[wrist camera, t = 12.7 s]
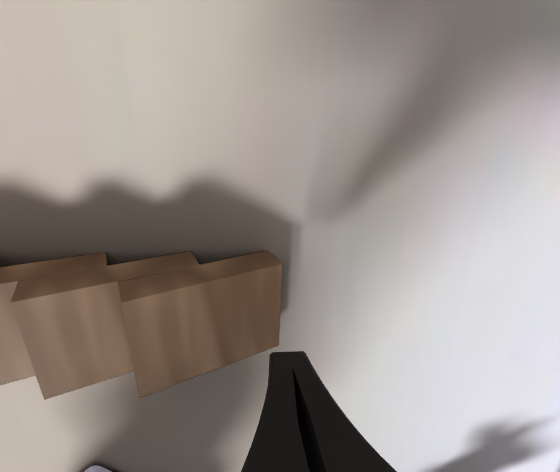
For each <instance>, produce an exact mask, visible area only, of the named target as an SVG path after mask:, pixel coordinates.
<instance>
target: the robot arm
mask: <svg viewBox="0 0 560 472" xmlns="http://www.w3.org/2000/svg"><path fill="white" fill-rule="evenodd" d="M84 472H112V471H110V470H108V469H105V468H103V467H101V466H98V465H94V466H91V467H89V468H88V469H87V470H86V471H84ZM241 472H397V471H396V470H395V469H393V468H392V467H391V466H390V465H389V464H388V463H387V462H386V461H385V460H384V459H383V458H382V457H381V456H380V455H379V454H378V453H377V452H376V451H375V449H374V448H373V447H372V446H371V445H370V444H369V443H368V442H367V441H366V440H365V438H364V437H363V436H362V435H361V434H360V433H359V432H358V430H357V429H356V428H355V427H354V426H353V424H352V423H351V422H350V421H349V419H348V418H347V417H346V415H345V414H344V413H343V411H342V410H341V409H340V408H339V406H338V405H337V403H336V402H335V401H334V399H333V398H332V396H331V395H330V393H329V392H328V390H327V389H326V387H325V386H324V384H323V383H322V381H321V380H320V378H319V376H318V375H317V373H316V371H315V370H314V368H313V366H312V364H311V362H310V361H309V359H308V357H307V355H306V353H305V352H304V351H298V352H273V353H271V354H270V360H269V378H268V388H267V393H266V398H265V402H264V406H263V410H262V413H261V417H260V421H259V424H258V427H257V430H256V433H255V436H254V439H253V442H252V445H251V448H250V450H249V453H248V455H247V458H246V461H245V463H244V466H243V468H242V471H241Z"/></svg>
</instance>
